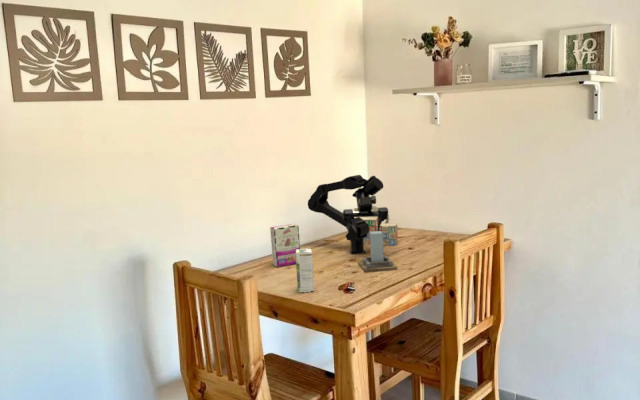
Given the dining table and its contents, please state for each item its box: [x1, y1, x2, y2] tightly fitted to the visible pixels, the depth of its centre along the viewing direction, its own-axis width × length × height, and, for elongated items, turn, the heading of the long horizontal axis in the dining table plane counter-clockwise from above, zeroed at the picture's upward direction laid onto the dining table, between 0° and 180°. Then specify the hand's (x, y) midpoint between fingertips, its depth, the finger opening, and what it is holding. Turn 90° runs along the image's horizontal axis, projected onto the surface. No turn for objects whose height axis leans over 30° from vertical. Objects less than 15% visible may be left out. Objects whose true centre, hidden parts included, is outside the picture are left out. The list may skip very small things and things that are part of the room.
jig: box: [357, 255, 398, 273], centre depth 233 cm, size 13×13×3 cm
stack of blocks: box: [354, 217, 399, 247], centre depth 272 cm, size 21×6×12 cm, turn 72°
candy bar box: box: [269, 223, 301, 268], centre depth 243 cm, size 11×5×16 cm, turn 117°
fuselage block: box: [369, 231, 385, 263], centre depth 232 cm, size 4×4×13 cm
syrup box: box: [295, 248, 315, 294], centre depth 207 cm, size 6×6×14 cm
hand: (367, 231), depth 241 cm, fingers open, 9 cm apart
